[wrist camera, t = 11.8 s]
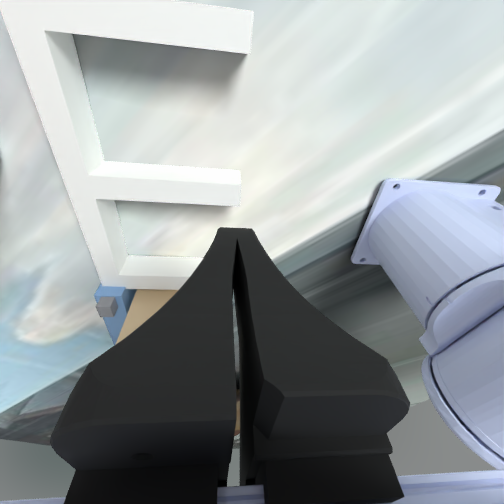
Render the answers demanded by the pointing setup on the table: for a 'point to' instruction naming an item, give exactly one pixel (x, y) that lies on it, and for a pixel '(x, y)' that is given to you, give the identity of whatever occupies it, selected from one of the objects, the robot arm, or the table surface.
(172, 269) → the white frame
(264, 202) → the table surface
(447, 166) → the table surface
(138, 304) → the beige tall block
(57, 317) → the table surface
